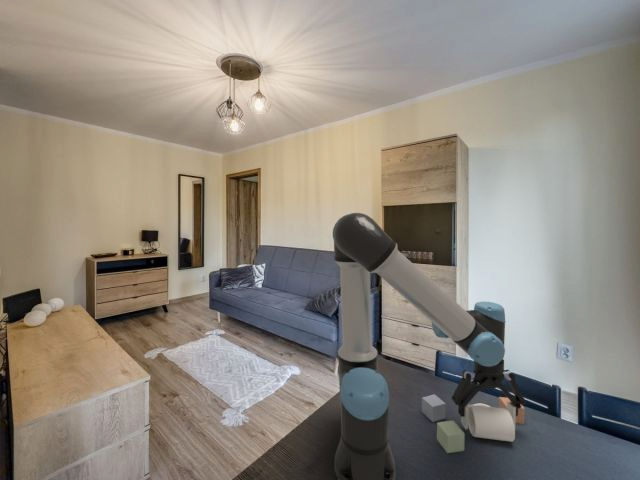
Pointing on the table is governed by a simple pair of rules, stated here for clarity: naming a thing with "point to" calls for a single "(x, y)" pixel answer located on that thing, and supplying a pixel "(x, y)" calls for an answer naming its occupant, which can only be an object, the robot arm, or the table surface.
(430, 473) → the table surface
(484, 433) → the mug
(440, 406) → the slate block
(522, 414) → the terracotta block
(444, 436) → the sage block
